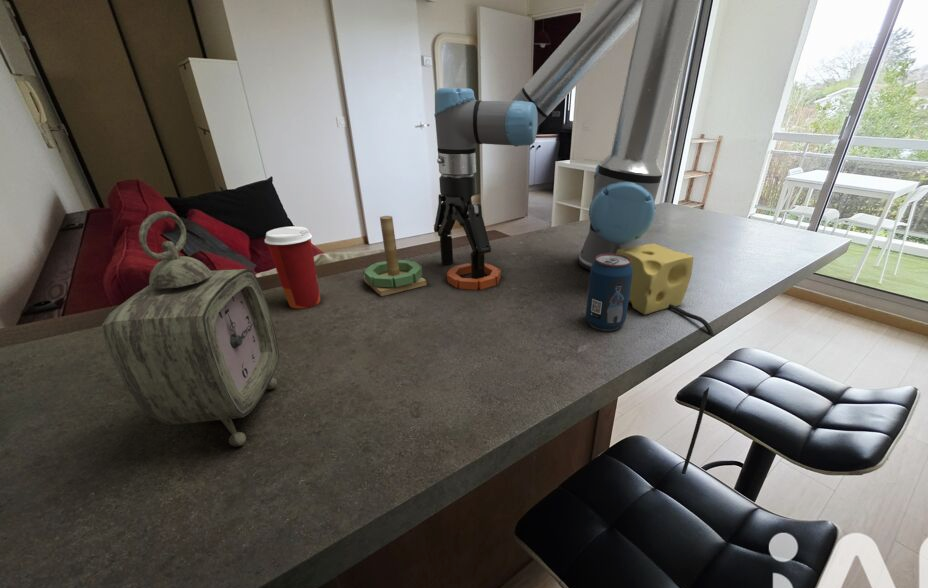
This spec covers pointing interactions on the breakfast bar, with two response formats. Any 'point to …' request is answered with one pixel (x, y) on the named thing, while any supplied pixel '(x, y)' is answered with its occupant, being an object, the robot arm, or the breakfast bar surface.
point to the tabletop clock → (194, 339)
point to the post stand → (392, 260)
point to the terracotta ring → (471, 283)
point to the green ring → (396, 280)
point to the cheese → (657, 277)
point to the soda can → (609, 291)
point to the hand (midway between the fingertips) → (462, 272)
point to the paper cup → (295, 265)
